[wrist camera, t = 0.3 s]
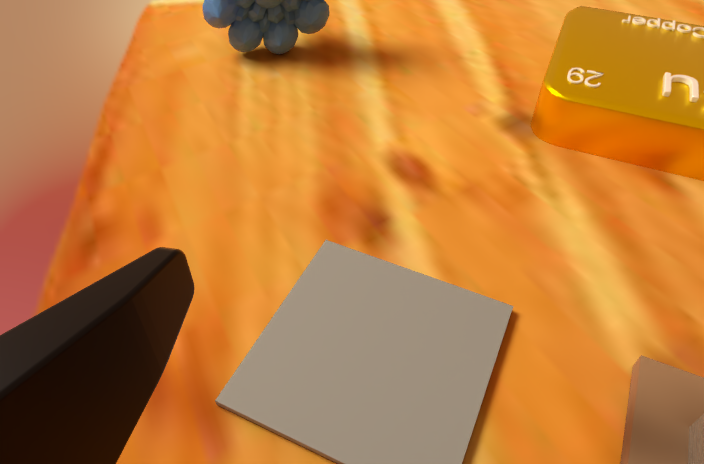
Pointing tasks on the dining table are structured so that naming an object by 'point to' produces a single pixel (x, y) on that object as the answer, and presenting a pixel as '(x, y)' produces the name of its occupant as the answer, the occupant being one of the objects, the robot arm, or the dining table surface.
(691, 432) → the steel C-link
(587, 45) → the element tile
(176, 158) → the dining table surface
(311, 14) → the blue ball cluster
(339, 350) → the slate mat
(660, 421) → the walnut stand
